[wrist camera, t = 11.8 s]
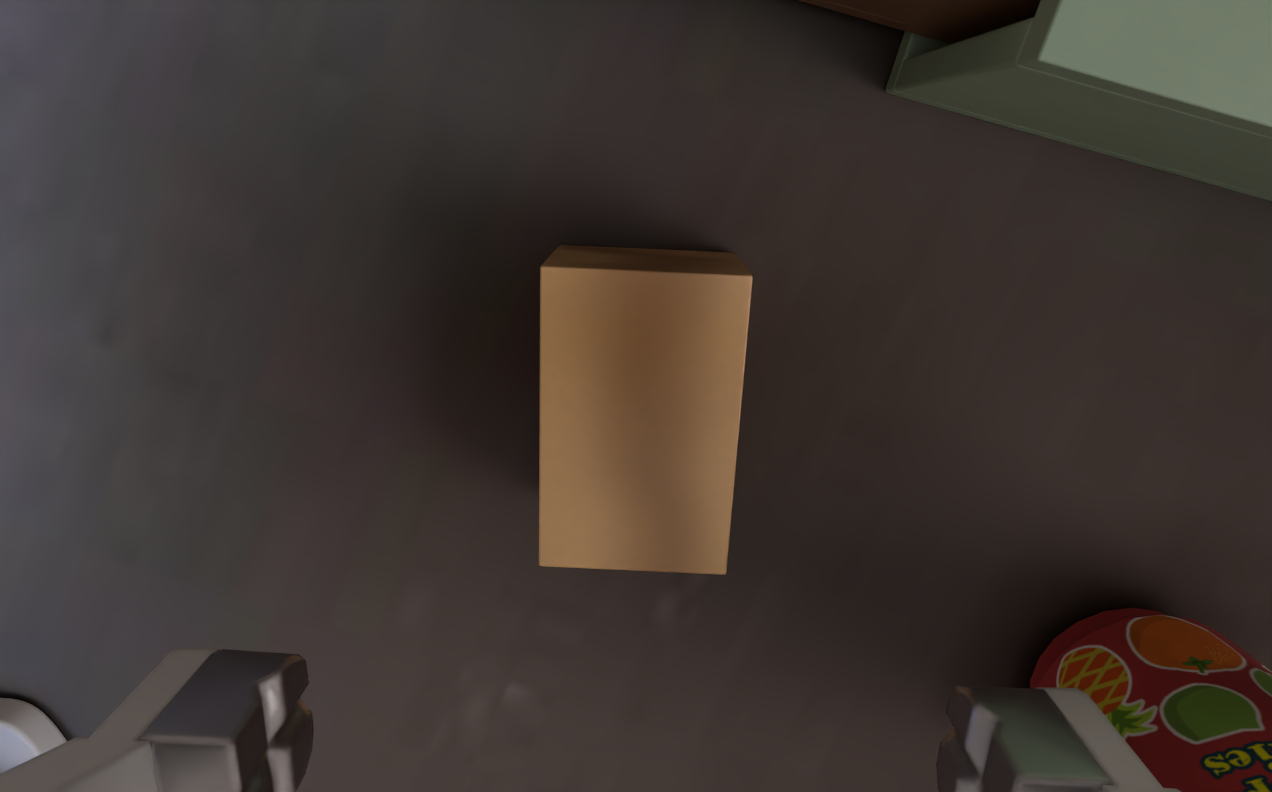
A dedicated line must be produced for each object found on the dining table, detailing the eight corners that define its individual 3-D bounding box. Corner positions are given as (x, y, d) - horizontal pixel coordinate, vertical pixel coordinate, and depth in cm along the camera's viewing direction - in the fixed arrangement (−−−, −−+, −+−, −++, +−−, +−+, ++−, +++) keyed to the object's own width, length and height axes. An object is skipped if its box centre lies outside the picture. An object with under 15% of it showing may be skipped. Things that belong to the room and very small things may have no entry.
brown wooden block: (555, 500, 24) (538, 566, 21) (558, 244, 22) (539, 265, 18) (714, 508, 24) (726, 575, 21) (735, 252, 22) (753, 275, 18)
